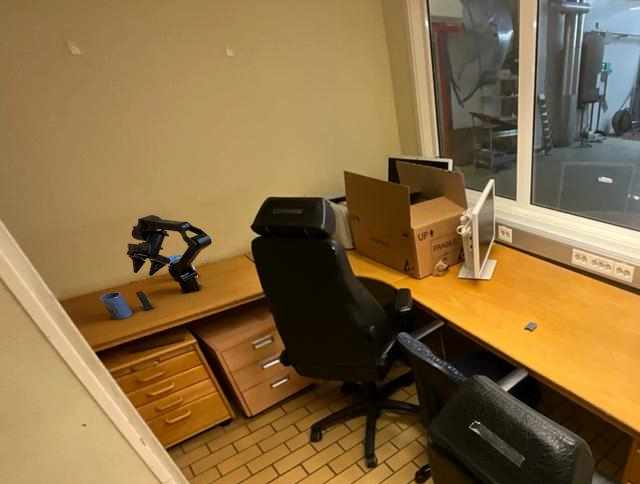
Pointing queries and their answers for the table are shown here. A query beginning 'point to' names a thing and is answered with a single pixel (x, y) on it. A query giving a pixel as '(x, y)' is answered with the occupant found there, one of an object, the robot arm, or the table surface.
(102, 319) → the table surface
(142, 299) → the ink cartridge
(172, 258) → the tape cartridge
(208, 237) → the robot arm
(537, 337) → the table surface
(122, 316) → the pen cup
